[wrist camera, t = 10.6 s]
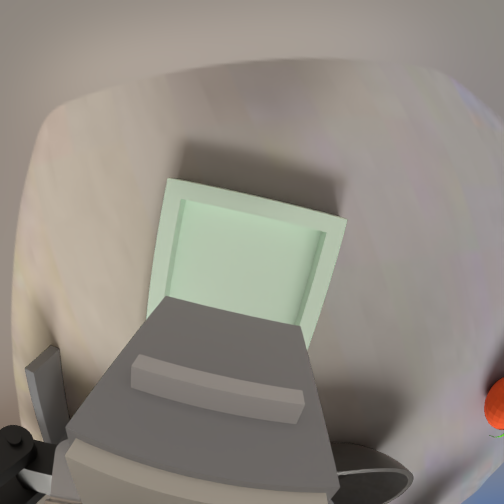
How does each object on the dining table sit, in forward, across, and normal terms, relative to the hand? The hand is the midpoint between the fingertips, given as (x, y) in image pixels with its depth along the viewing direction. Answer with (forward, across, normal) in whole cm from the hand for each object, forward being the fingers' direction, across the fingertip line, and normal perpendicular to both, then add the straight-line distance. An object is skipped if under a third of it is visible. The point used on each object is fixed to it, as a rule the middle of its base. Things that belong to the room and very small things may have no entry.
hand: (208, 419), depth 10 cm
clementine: (+14, -34, +7) cm, 38 cm away
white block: (+1, 0, 0) cm, 1 cm away
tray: (+14, 0, 0) cm, 14 cm away
